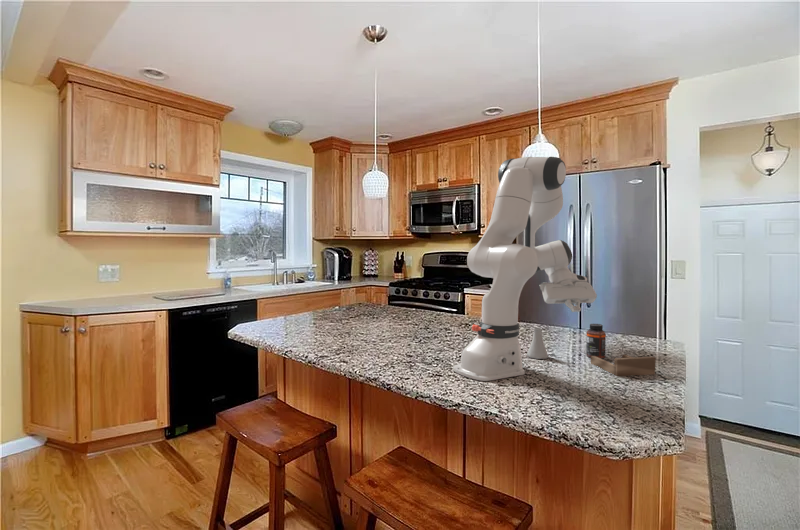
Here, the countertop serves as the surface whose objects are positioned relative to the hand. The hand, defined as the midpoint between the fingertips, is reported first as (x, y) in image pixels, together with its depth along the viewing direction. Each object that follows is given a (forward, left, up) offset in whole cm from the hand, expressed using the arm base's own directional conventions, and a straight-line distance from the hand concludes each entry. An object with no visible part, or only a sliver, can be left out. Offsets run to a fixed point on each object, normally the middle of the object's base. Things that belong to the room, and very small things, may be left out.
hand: (576, 311), depth 148 cm
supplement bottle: (-6, -11, -14) cm, 19 cm away
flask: (-22, +1, -14) cm, 26 cm away
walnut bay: (-12, -22, -14) cm, 29 cm away
